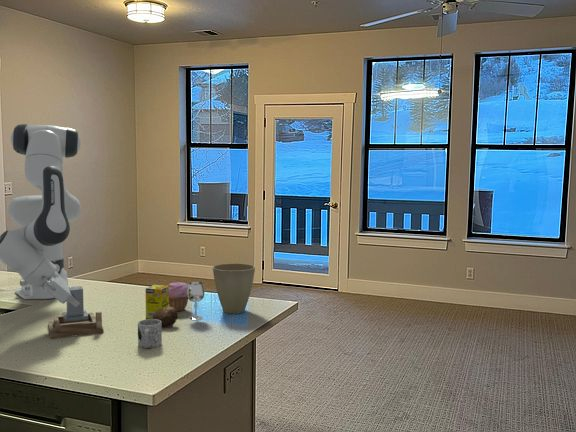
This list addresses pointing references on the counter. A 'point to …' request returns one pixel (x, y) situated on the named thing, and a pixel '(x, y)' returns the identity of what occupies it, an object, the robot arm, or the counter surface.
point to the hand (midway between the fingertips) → (77, 302)
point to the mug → (149, 333)
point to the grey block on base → (72, 311)
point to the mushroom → (166, 316)
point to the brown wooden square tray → (76, 326)
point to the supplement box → (156, 299)
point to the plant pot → (233, 285)
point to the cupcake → (178, 295)
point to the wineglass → (195, 296)
